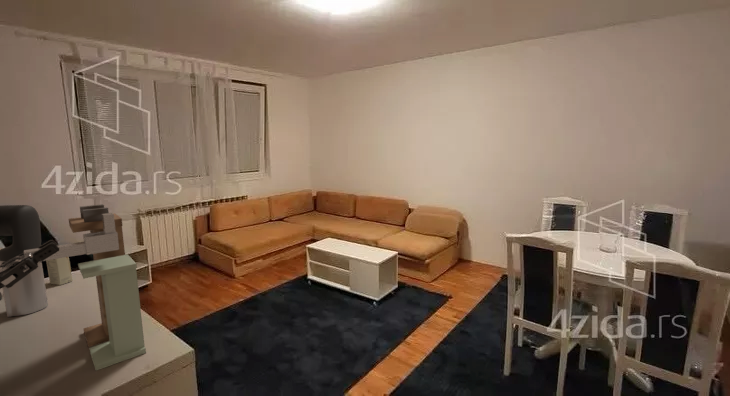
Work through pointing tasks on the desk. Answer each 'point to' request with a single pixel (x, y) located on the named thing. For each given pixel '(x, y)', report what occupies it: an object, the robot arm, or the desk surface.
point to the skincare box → (59, 271)
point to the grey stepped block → (89, 242)
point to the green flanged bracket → (118, 309)
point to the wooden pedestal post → (94, 223)
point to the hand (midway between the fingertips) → (55, 244)
